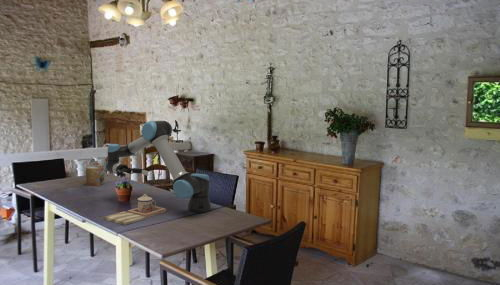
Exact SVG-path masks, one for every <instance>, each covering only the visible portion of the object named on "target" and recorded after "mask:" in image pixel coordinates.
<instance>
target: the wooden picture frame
mask: <svg viewBox="0 0 500 285" xmlns="http://www.w3.org/2000/svg"><path fill="white" fill-rule="evenodd" d="M153 206H154V205H152V207H153ZM126 212H129V213H133V214H137V215H141V216H145V219H147V218H150V217H153V216H157V215H159V214H160V215H161V214H164V213H167V208H165V207H161V206H157V205H156V206H155V207H154V208H152V212H149V213H145V214H144V213H140V212H138V207H137V208H132V209H129V210H126Z"/></svg>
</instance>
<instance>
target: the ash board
mask: <svg viewBox="0 0 500 285" xmlns="http://www.w3.org/2000/svg"><path fill="white" fill-rule="evenodd" d="M103 220H104V221H108V222H111V223H116V224H119V225H121V226H122V225H123V226H127V225H130V224H134V223H137V222H140V221H143V220H146V218H145V216H141V215H137V214H133V213H129V212H127V211H122V212H117V213H113V214H110V215H105V216H103Z"/></svg>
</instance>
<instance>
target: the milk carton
mask: <svg viewBox="0 0 500 285" xmlns="http://www.w3.org/2000/svg"><path fill="white" fill-rule="evenodd" d="M104 184H105V165H104V164H102V163H100V161H99V160H97V159H96V160H94V161H92V163H91V164H89V165H87V167H85V186H86V187H100V186H103V185H104Z"/></svg>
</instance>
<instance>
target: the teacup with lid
mask: <svg viewBox="0 0 500 285" xmlns="http://www.w3.org/2000/svg"><path fill="white" fill-rule="evenodd" d="M153 202H154V204H153ZM152 206H153V207H152ZM155 206H157V201H156V200H153V197H150V196H148V195H147V194H146V193H144V194H143V195H142V196H141V197H138V198H137V208H138V212H140V213H144V214H145V213H149V212H152V211H153V210H152V208H154V207H155Z"/></svg>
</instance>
